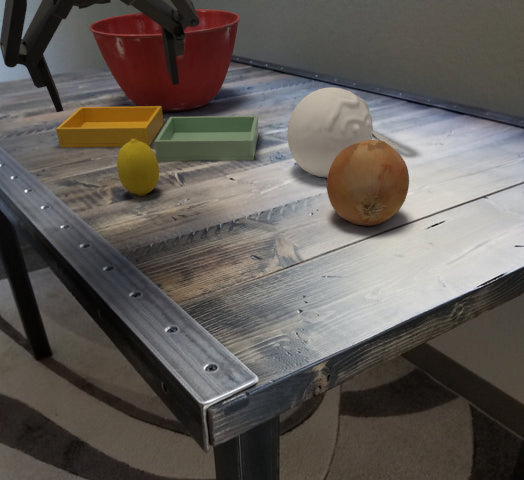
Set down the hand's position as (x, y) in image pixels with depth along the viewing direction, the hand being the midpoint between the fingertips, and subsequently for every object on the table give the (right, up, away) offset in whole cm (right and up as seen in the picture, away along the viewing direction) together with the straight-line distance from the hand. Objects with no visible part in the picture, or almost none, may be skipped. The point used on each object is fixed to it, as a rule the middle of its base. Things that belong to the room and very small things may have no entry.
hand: (116, 89), depth 67 cm
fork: (+36, +6, +32) cm, 49 cm away
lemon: (0, -9, +14) cm, 17 cm away
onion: (+30, -14, +6) cm, 34 cm away
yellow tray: (-9, +7, +36) cm, 38 cm away
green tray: (+8, +3, +29) cm, 30 cm away
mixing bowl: (-1, +20, +52) cm, 56 cm away
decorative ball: (+27, -5, +19) cm, 33 cm away
